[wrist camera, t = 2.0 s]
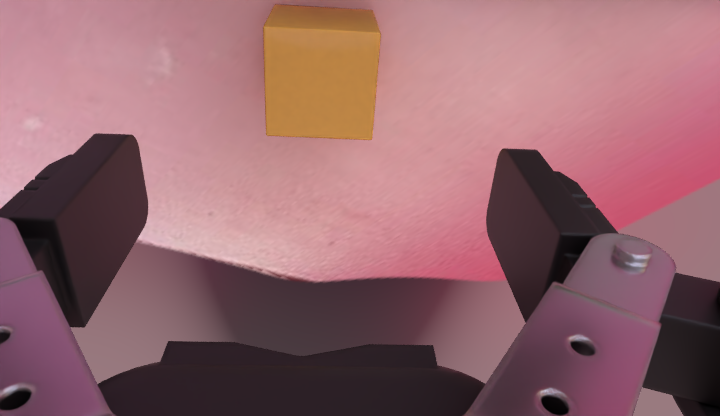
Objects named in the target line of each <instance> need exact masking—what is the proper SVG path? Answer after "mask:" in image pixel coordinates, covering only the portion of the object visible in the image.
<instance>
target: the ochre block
mask: <svg viewBox="0 0 720 416" xmlns="http://www.w3.org/2000/svg"><path fill="white" fill-rule="evenodd" d="M380 38H381V33H380V30H379V27H378V24H377V21H376V18H375V15H374V12H373V10H361V9H345V8H328V7H311V6H294V5H277V4H275V5H274V7H273V9H272V11H271V13H270V15H269V17H268V18H267V20H266V22H265V24H264V27H263V42H264V79H265V115H266V135H267V136H287V137H310V138H334V139H358V140H372V135H373V123H374V111H375V99H376V87H377V74H378V62H379V50H380Z"/></svg>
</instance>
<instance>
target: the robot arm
mask: <svg viewBox="0 0 720 416" xmlns="http://www.w3.org/2000/svg"><path fill="white" fill-rule="evenodd" d="M147 215H148V198H147V192H146V186H145V180H144V175H143V169H142V163H141V157H140V151H139V146H138V143H137V140H136V138H135V137H134V136H133V135H125V134H94V135H93V136H92V137H91V138H90V139H89V140H88V141H87V142H86V143H85V144H84V145H83V146H82V147H81V148H80V149H78V150H77V151H76V152H75V153H74V154H73V155H68V156H66V157H64V158H62V159H60V160H58V161H55V162H53V163H51V164H49V165H48V166H47V167H46V168H44V169H43V170H42V171H41V172H40V173H39V174H38V175H37V176H36V177H35V180H31V181H30V182H29V183H28V184H27V185H26V186H25V187H24V190H21V191H20V192H18V193H17V194H16V195H15V196H14V197H13V198H12V199H11V200H10V201H9V202H8V203H7V204H5V205H4V206H3V207H2V208H1V209H0V416H633V413H634V410H635V407H636V404H637V401H638V398H639V395H640V391H641V388H642V387H643V388H648V389H651V390H655V391H659V392H663V393H666V394H670V395H672V396H673V398H674V400H675V401H676V403H677V405H678V407H679V408H680V410H681V412H682V414H683V415H684V416H720V282H716V281H712V280H707V279H702V278H697V277H693V276H688V275H683V274H679V273H675V272H676V265H675V262H674V260H673V259H672V258H671V257H670V256H669V255H668V254H667V253H666V252H665V251H664V250H662V249H661V248H660V247H658V246H656V245H654V244H652V243H650V242H648V241H646V240H643V239H640V238H637V237H634V236H630V235H624V234H619V233H618V232H617V231H616V230H615V228H614V227H613V226H612V225H611V224H610V222H609V221H608V220H607V219H606V218H605V216H604V215H603V214H602V213H601V211H600V210H599V209H598V208H596V205H595V204H594V203H593V202H592V200H591V199H590V198H587V194H586V193H585V192H584V191H583V189H582V188H581V187H580V186H579V185H578V183H577V182H575V181H573V180H572V179H570V178H569V177H567V176H565V175H564V174H562V173H560V172H556V171H553V170H552V168H551V167H550V166H549V164H548V163H547V162H546V161H545V159H544V158H543V157H542V155H541V154H540V153H539V152H538V151H537V150H529V149H502V150H501V151H500V153H499V156H498V159H497V163H496V168H495V173H494V178H493V183H492V189H491V194H490V199H489V204H488V209H487V217H486V224H487V233H488V236H489V239H490V241H491V244H492V246H493V248H494V251H495V253H496V255H497V258H498V260H499V262H500V264H501V267H502V269H503V271H504V274H505V276H506V278H507V281H508V283H509V285H510V288H511V290H512V292H513V295H514V297H515V299H516V302H517V304H518V306H519V309H520V311H521V313H522V315H523V318H524V320H525V322H526V324H525V325H524V327H523V329H522V330H521V331H520V333H519V334H518V336H517V337H516V339H515V340H514V342H513V343H512V345H511V346H510V348H509V349H508V351H507V353H506V354H505V355H504V357H503V358H502V360H501V362H500V363H499V365H498V366H497V368H496V369H495V371H494V372H493V374H492V375H491V377H490V378H489V380H488V381H487V383H486V384H485V383H483V382H481V381H479V380H477V379H475V378H473V377H471V376H469V375H466V374H464V373H462V372H459V371H455V370H452V369H449V368H446V367H442V366H437V362H436V357H435V353H434V348H433V345H431V346H430V345H373V344H372V345H370V344H369V345H363V346H358V347H353V348H347V349H341V350H336V351H330V352H325V353H320V354H314V355H308V356H296V355H291V354H286V353H281V352H277V351H272V350H268V349H263V348H258V347H254V346H249V345H244V344H240V343H235V342H182V341H168V343H167V346H166V348H165V351H164V354H163V356H162V359H161V361H160V362H157V363H152V364H148V365H144V366H141V367H137V368H134V369H131V370H129V371H126V372H123V373H120V374H118V375H115V376H113V377H111V378H109V379H107V380H104V381H102V382H101V383H99V384H97V382H96V381H95V378H94V376H93V374H92V372H91V370H90V368H89V366H88V364H87V362H86V360H85V358H84V355H83V353H82V351H81V349H80V347H79V345H78V343H77V341H76V339H75V337H74V335H73V333H72V331H71V328H70V327H85V326H86V324H87V323H88V321H89V319H90V318H91V316H92V314H93V313H94V311H95V309H96V307H97V306H98V304H99V302H100V301H101V299H102V297H103V296H104V294H105V292H106V291H107V289H108V287H109V286H110V284H111V282H112V280H113V279H114V277H115V275H116V274H117V272H118V270H119V269H120V267H121V265H122V263H123V262H124V260H125V259H126V257H127V255H128V253H129V252H130V250H131V248H132V247H133V245H134V243H135V242H136V240H137V238H138V237H139V235H140V233H141V232H142V230H143V228H144V226H145V224H146V220H147Z"/></svg>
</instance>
